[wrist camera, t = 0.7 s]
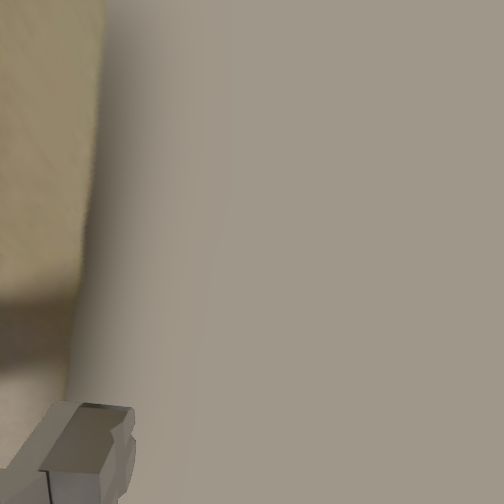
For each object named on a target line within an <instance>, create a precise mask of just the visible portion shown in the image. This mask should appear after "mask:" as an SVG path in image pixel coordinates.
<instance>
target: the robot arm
mask: <svg viewBox="0 0 504 504" xmlns="http://www.w3.org/2000/svg"><path fill="white" fill-rule="evenodd" d="M134 425H135V413H134V409H133V408H131V407H121V406H111V405H101V404H92V403H77V402H68V401H58V402H56V403H55V404H53V405H52V406H51V407H50V409H49V410H48V412H47V413H46V414H45V416H44V417H43V418H42V420H41V421H40V423H39V424H38V425H37V427H36V428H35V429H34V431H33V432H32V434H31V435H30V436H29V438H28V439H27V440H26V442H25V443H24V444H23V446H22V447H21V449H20V450H19V451H18V453H17V454H16V455H15V457H14V458H13V460H12V461H11V462H10V464H9V465H8V466H7V468H6V469H0V504H118V498H119V497H121V496H122V495H123V494H124V493H125V492H126V491H127V488H128V485H129V482H130V479H131V476H132V471H133V467H134V462H135V453H136V440H135V439H134V438H133V437H132V435H131V432H132V430H133V427H134Z"/></svg>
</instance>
